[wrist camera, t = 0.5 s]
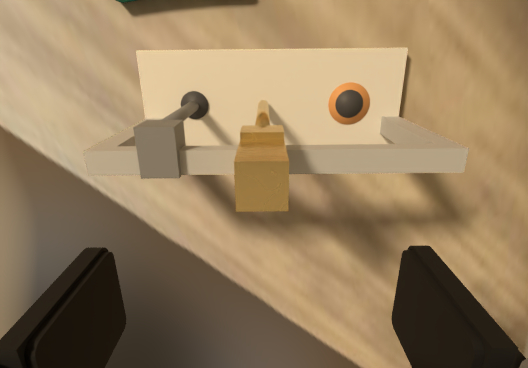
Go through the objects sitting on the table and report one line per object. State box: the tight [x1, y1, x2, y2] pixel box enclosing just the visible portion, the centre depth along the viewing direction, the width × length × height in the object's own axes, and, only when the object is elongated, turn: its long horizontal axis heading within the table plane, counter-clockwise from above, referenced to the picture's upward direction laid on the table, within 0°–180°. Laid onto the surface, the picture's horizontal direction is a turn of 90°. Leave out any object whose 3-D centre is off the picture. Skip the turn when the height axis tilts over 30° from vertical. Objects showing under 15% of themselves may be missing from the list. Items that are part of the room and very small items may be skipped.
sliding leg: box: [234, 100, 289, 212], centre depth 29 cm, size 4×3×22 cm
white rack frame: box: [83, 48, 469, 178], centre depth 32 cm, size 12×30×17 cm, turn 91°
